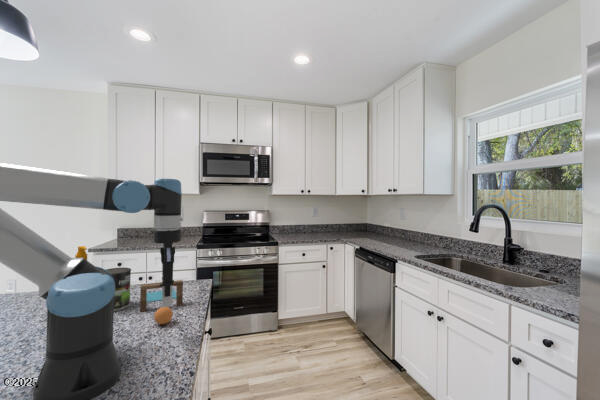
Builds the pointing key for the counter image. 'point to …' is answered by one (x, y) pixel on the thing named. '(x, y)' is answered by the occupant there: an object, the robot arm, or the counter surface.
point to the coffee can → (121, 287)
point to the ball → (163, 315)
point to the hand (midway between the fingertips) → (167, 305)
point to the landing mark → (158, 296)
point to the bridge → (157, 285)
